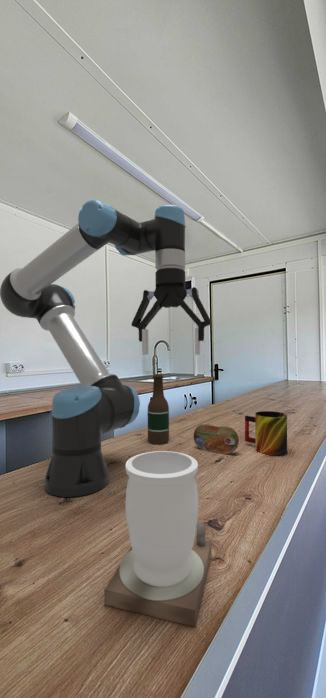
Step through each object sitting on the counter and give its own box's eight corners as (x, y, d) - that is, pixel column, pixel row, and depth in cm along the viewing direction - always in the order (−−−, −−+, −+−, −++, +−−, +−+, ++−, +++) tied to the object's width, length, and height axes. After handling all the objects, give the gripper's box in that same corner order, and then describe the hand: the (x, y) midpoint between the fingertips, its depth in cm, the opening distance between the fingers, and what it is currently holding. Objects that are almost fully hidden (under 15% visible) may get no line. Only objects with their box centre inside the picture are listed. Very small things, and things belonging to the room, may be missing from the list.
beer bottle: (173, 440, 115) (173, 373, 115) (161, 446, 108) (161, 375, 108) (155, 437, 119) (155, 373, 119) (143, 442, 113) (142, 374, 112)
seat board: (104, 604, 42) (104, 566, 42) (141, 541, 55) (141, 512, 55) (195, 626, 38) (195, 585, 38) (211, 554, 52) (211, 523, 52)
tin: (193, 448, 106) (192, 423, 106) (197, 446, 109) (197, 421, 109) (236, 456, 98) (236, 429, 98) (240, 453, 100) (240, 427, 100)
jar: (195, 600, 39) (194, 479, 39) (115, 589, 41) (114, 473, 41) (201, 547, 50) (200, 451, 50) (137, 540, 52) (136, 448, 52)
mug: (245, 443, 110) (245, 409, 110) (288, 448, 105) (287, 412, 105) (239, 452, 102) (239, 414, 102) (286, 458, 96) (286, 418, 96)
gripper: (222, 270, 80) (222, 354, 80) (129, 276, 87) (130, 354, 87) (218, 262, 73) (219, 355, 73) (118, 270, 80) (119, 354, 80)
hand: (170, 354), depth 80 cm, fingers open, 13 cm apart
